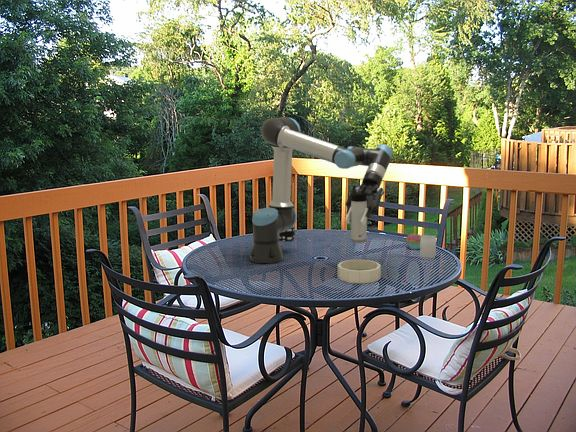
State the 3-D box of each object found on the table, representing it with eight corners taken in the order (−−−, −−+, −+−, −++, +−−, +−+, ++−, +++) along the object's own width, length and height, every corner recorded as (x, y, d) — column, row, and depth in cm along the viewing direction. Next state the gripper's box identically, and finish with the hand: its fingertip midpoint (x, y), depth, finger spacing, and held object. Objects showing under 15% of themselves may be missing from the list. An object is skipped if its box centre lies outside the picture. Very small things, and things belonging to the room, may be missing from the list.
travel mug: (363, 243, 215) (363, 194, 211) (348, 241, 218) (348, 192, 214) (369, 240, 220) (370, 191, 216) (355, 238, 224) (355, 190, 219)
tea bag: (434, 258, 247) (435, 236, 245) (419, 257, 250) (420, 236, 248) (435, 256, 251) (436, 235, 249) (420, 255, 253) (421, 234, 251)
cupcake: (423, 250, 261) (424, 226, 259) (405, 250, 263) (406, 225, 260) (422, 246, 269) (423, 222, 267) (405, 245, 271) (405, 222, 269)
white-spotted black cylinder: (297, 238, 291) (296, 201, 288) (290, 242, 284) (290, 204, 280) (283, 237, 295) (282, 201, 291) (276, 240, 287) (275, 203, 284)
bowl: (333, 281, 217) (333, 269, 216) (344, 269, 233) (344, 258, 232) (375, 285, 211) (375, 272, 210) (383, 272, 227) (383, 261, 226)
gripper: (397, 183, 222) (379, 230, 212) (356, 181, 233) (337, 225, 223) (392, 172, 216) (373, 219, 207) (350, 170, 228) (330, 214, 218)
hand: (354, 222), depth 215 cm, fingers closed on travel mug, 6 cm apart
